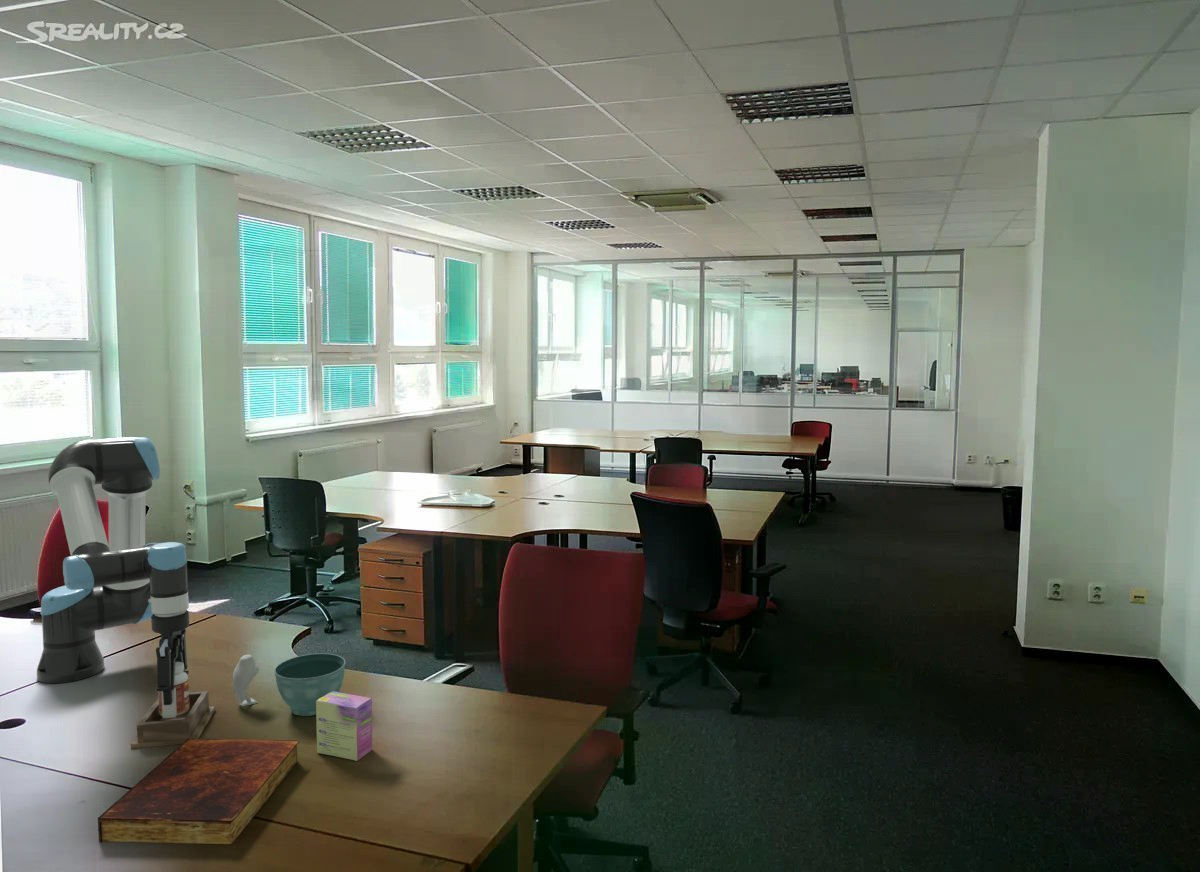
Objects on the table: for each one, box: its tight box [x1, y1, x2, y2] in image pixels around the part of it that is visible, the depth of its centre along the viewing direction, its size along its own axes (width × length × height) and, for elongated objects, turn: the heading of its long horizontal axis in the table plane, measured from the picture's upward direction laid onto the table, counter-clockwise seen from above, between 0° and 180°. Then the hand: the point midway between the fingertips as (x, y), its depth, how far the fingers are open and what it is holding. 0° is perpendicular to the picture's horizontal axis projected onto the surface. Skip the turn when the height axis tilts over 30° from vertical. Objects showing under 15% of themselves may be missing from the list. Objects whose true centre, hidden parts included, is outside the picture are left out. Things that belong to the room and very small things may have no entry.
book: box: [97, 738, 300, 845], centre depth 155 cm, size 30×24×5 cm
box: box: [315, 691, 373, 762], centre depth 173 cm, size 10×6×12 cm, turn 71°
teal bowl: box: [273, 652, 346, 717], centre depth 194 cm, size 16×16×11 cm
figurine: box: [232, 654, 260, 708], centre depth 197 cm, size 8×5×12 cm
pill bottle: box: [157, 662, 190, 716], centre depth 183 cm, size 6×6×11 cm
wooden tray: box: [130, 690, 216, 749], centre depth 184 cm, size 17×13×5 cm
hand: (174, 710), depth 184 cm, fingers closed on pill bottle, 6 cm apart
